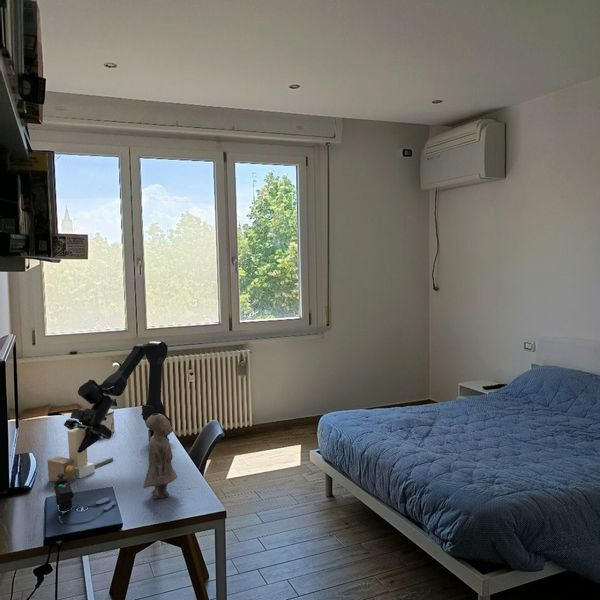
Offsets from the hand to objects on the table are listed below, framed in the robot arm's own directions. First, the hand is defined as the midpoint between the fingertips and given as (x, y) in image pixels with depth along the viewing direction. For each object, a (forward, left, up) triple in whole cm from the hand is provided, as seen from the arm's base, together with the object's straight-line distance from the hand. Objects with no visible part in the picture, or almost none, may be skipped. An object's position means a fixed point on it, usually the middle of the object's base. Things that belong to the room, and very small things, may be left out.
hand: (74, 451), depth 187 cm
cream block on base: (-1, -1, -8) cm, 8 cm away
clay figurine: (-16, +35, -8) cm, 40 cm away
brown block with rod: (-4, -1, -8) cm, 9 cm away
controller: (+10, +29, -8) cm, 31 cm away
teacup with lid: (-21, -45, -8) cm, 50 cm away
